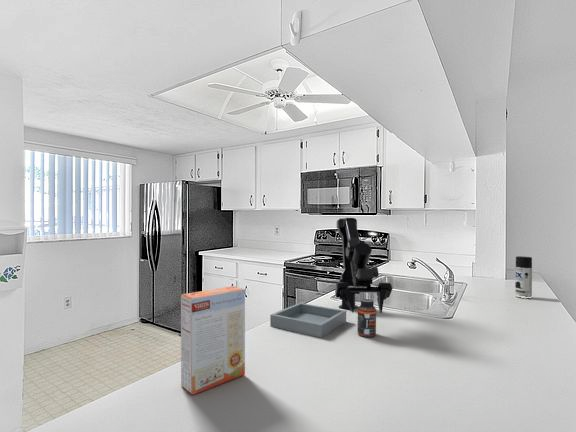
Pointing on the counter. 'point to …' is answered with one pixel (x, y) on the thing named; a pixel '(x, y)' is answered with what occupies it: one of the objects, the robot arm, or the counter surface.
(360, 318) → the supplement bottle
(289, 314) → the gray square tray
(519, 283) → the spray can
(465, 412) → the counter surface
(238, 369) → the cracker box
